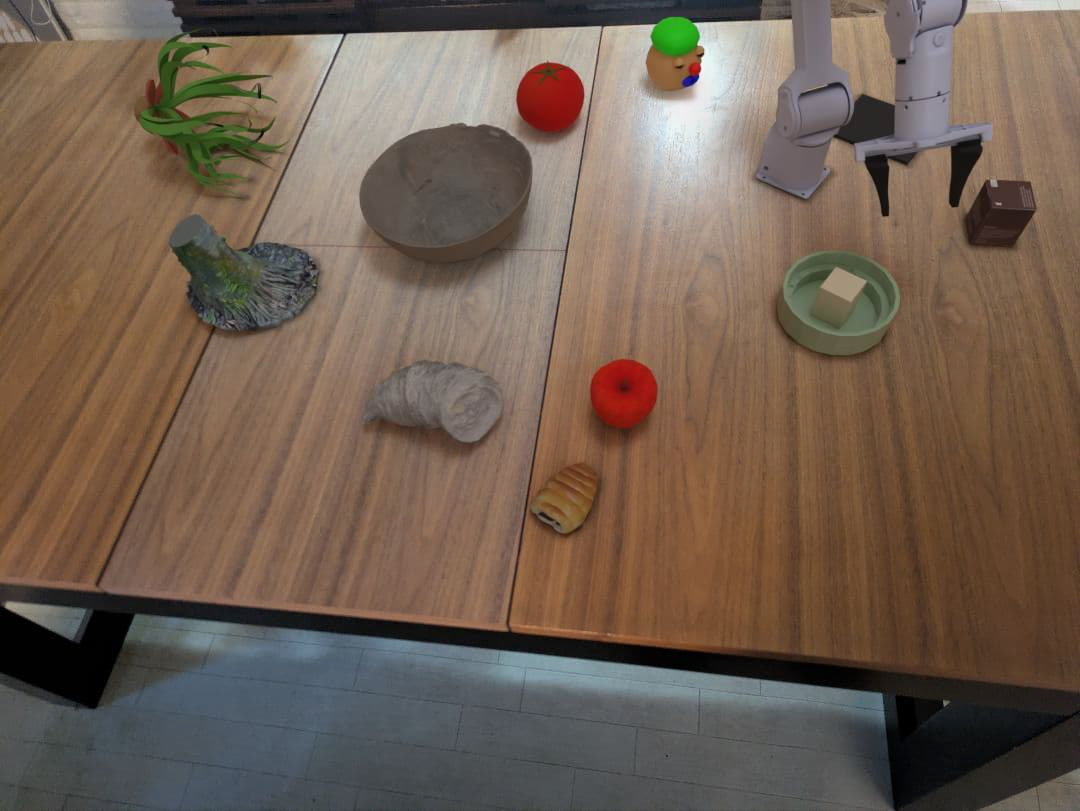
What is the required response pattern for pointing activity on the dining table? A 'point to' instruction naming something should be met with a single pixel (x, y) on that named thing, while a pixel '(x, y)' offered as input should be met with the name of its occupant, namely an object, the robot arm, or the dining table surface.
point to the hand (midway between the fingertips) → (918, 209)
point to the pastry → (567, 497)
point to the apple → (623, 393)
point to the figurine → (674, 54)
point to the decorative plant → (179, 125)
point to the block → (838, 297)
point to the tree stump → (242, 278)
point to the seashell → (438, 399)
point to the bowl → (448, 191)
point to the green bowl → (862, 323)
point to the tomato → (550, 97)
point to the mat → (871, 124)
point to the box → (1000, 212)
